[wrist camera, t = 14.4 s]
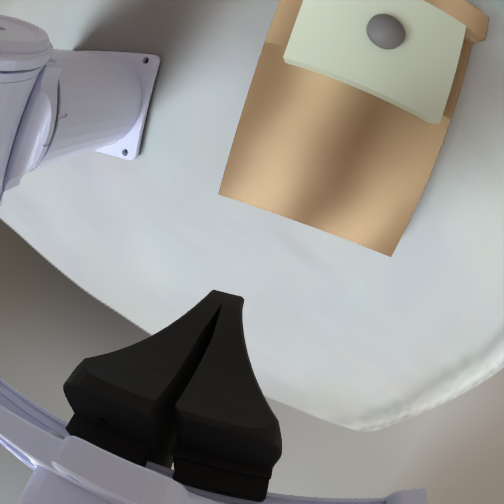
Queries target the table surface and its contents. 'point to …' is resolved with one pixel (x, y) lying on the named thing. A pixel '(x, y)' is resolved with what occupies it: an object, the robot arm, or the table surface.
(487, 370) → the table surface
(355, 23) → the cover
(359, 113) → the wooden compartment box
